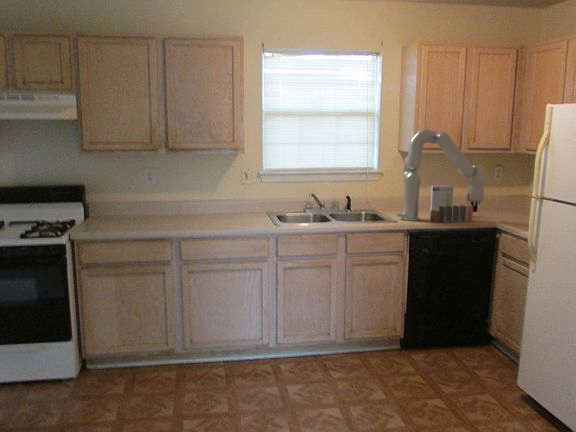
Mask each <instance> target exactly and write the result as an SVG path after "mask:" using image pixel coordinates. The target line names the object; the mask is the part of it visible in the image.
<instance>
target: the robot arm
mask: <svg viewBox="0 0 576 432" xmlns="http://www.w3.org/2000/svg"><path fill="white" fill-rule="evenodd" d="M425 144H431V145H438V146H439V148H440V149H441V150H442V152H443V153H444V154H445V155H446V156H445V157H447V158H448V159H449V160H450V161H452V163H454V164H455V165H456V166H457V168H458V169H457V171H458V173H459V175H460V176H463V177H467V178H470V185H469V186H468V187H467V188H468V189H467V192H466V193H467V194H466V201H467V204H470V206H473V213H477V212H478V207H479V205H480V204H482V203H483V202H484V199H485V192H484V191H485V189H484V186H483V185H485V182H484V172H485V167H484V165H481V164H472V163H471V162H470V161H469V159H468V158H467V157H466V156H465V154H464V153H463V152H462V151H461V150H460V149H459V148H458V146H457V144H456V143H455V142H454V141H453V139H452V138H451V137H450V135H449V134H448V133H447V132H445V131H437V130H430V129H428V128H421V129H419V130H417V132H416V134H415V135H413V137H412V138H411V140H410V142H409V146H408V153H407V156H406V158H404V161H403V162H404V163H403V172H402V179H403V182H404V183H405V184H404V194H403V195H404V197H403V211H402V212H401V213H396V217H400V219H401V220H404V221H411V222H412V221H413V222H414V221H416V222H417V221H421V217H419V205H420V189H421V176H420V174H419V173H418V170H419V169H420V167H421V165H422V154H423V148H424V146H425Z"/></svg>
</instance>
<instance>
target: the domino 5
mask: <svg viewBox="0 0 576 432" xmlns="http://www.w3.org/2000/svg"><path fill="white" fill-rule="evenodd" d="M473 213H474V212H473V206H472V205H471V204H470V205H469V204H466V219H465V221H467V220H468V221H467V222H473V215H474V214H473Z"/></svg>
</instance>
